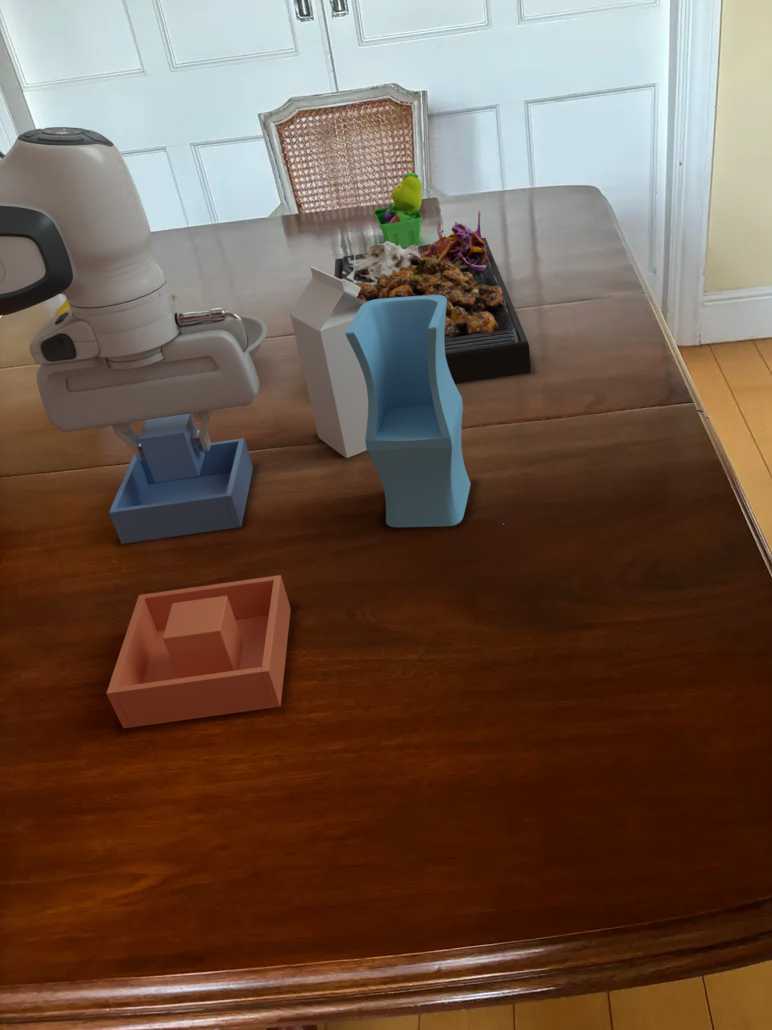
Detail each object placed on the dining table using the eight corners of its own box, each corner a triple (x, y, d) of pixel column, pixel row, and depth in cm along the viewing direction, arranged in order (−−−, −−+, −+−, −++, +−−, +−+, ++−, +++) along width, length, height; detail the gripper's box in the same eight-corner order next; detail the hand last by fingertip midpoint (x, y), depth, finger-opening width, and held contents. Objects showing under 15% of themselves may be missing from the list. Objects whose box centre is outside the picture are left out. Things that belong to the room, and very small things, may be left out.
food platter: (340, 286, 147) (327, 221, 140) (488, 265, 147) (482, 198, 140) (335, 404, 111) (317, 324, 105) (531, 376, 111) (525, 293, 105)
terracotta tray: (125, 732, 69) (105, 693, 66) (154, 632, 78) (138, 594, 76) (281, 711, 69) (268, 670, 66) (291, 613, 78) (280, 574, 76)
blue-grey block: (155, 483, 90) (138, 439, 87) (162, 461, 94) (147, 418, 91) (198, 476, 90) (183, 432, 87) (205, 455, 94) (190, 412, 91)
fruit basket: (377, 238, 166) (366, 173, 160) (423, 230, 167) (415, 165, 160) (384, 255, 157) (373, 187, 150) (433, 247, 158) (425, 178, 151)
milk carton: (347, 462, 99) (310, 291, 87) (318, 440, 104) (280, 276, 92) (401, 439, 102) (373, 271, 90) (371, 419, 107) (340, 257, 95)
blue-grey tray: (122, 547, 90) (108, 512, 88) (146, 486, 100) (133, 453, 97) (242, 530, 90) (231, 495, 88) (254, 471, 100) (244, 437, 97)
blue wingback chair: (382, 532, 87) (344, 333, 75) (397, 489, 93) (363, 299, 81) (462, 530, 85) (436, 327, 73) (472, 487, 92) (449, 293, 79)
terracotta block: (181, 686, 71) (162, 638, 68) (190, 649, 75) (172, 602, 72) (237, 678, 71) (220, 630, 68) (243, 642, 75) (227, 595, 72)
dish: (174, 359, 130) (163, 325, 127) (272, 340, 131) (264, 306, 128) (169, 409, 116) (157, 373, 113) (279, 387, 117) (270, 351, 114)
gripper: (243, 293, 85) (277, 424, 93) (31, 325, 85) (85, 453, 94) (235, 316, 80) (273, 453, 88) (10, 350, 80) (69, 483, 89)
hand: (174, 453), depth 91 cm, fingers closed on blue-grey block, 4 cm apart
